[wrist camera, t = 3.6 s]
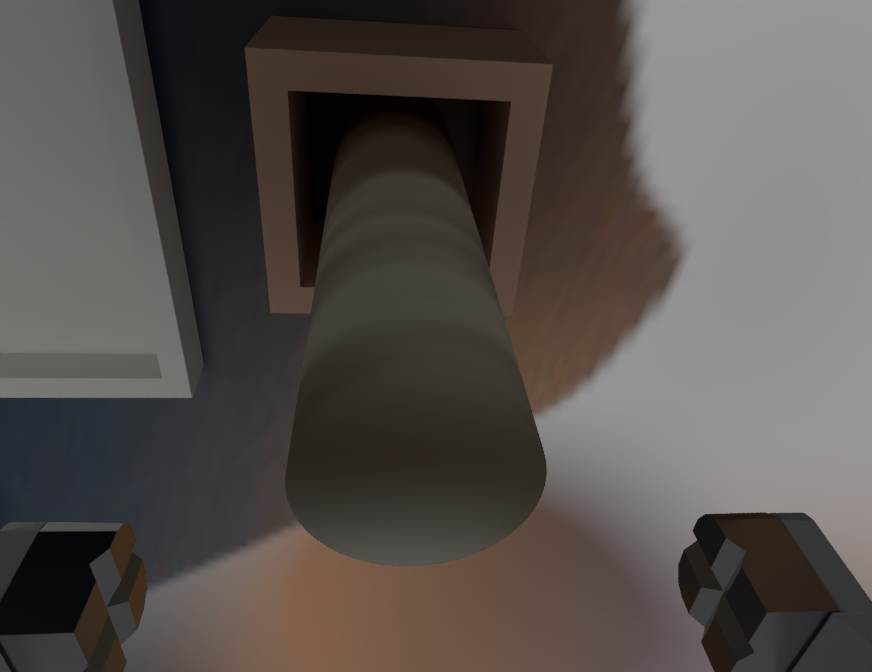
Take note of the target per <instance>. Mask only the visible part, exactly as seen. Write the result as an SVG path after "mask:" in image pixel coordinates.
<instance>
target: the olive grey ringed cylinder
mask: <svg viewBox="0 0 872 672" xmlns="http://www.w3.org/2000/svg"><path fill="white" fill-rule="evenodd" d="M546 473H547V472H546V459H545V455H544V451H543V447H542V444H541V441H540V437H539V434H538V431H537V427H536V424H535V421H534V417H533V414H532V410H531V407H530V404H529V400H528V397H527V394H526V390H525V387H524V384H523V380H522V377H521V374H520V370H519V367H518V364H517V360H516V357H515V354H514V350H513V347H512V343H511V340H510V337H509V333H508V330H507V327H506V323H505V320H504V317H503V313H502V310H501V307H500V303H499V300H498V297H497V293H496V290H495V287H494V283H493V280H492V276H491V273H490V270H489V266H488V263H487V260H486V256H485V253H484V250H483V246H482V243H481V240H480V236H479V233H478V230H477V226H476V223H475V220H474V216H473V213H472V210H471V206H470V203H469V199H468V196H467V193H466V189H465V186H464V183H463V179H462V176H461V173H460V169H459V166H458V163H457V159H456V156H455V153H454V149H453V146H452V143H451V139H450V136H449V132H448V129H447V126H446V123H445V121H444V119H443V117H442V115H441V113H440V112H439V111H438V109H437V108H436V107H435V106H434V105H433V104H432V103H431V102H430V101H429V100H428V99H426V98H425V97H410V96H390V95H369V94H366V95H364V96H363V97H361V98H360V99H358V100H357V101H356V102H355V103H354V104H353V105H352V106H351V107H350V108H349V110H348V111H347V113H346V114H345V116H344V118H343V120H342V122H341V125H340V129H339V134H338V140H337V147H336V153H335V159H334V166H333V172H332V179H331V185H330V192H329V198H328V205H327V211H326V218H325V224H324V230H323V237H322V243H321V250H320V256H319V263H318V269H317V276H316V282H315V288H314V295H313V301H312V308H311V314H310V321H309V327H308V334H307V340H306V347H305V353H304V359H303V366H302V372H301V379H300V385H299V392H298V398H297V405H296V411H295V418H294V424H293V430H292V437H291V443H290V450H289V456H288V463H287V469H286V476H285V489H286V494H287V499H288V502H289V505H290V507H291V510H292V512H293V513H294V515H295V517H296V518H297V520H298V521H299V523H300V524H301V525H302V526H303V527H304V528H305V529H306V531H307V532H309V533H310V534H311V535H312V536H313V537H314V538H316V539H317V540H318V541H320V542H321V543H323V544H324V545H326V546H327V547H329V548H331V549H333V550H335V551H337V552H339V553H341V554H344V555H346V556H349V557H352V558H355V559H358V560H362V561H366V562H370V563H376V564H381V565H391V566H423V565H432V564H439V563H445V562H449V561H453V560H458V559H460V558H464V557H467V556H470V555H473V554H475V553H477V552H480V551H482V550H485V549H486V548H488V547H490V546H492V545H494V544H496V543H498V542H499V541H501V540H502V539H504V538H505V537H506V536H508V535H509V534H511V533H512V532H513V531H514V530H516V529H517V528H518V527H519V526H520V525H521V524H522V523H523V522H524V521H525V520H526V519H527V518H528V517H529V515H530V514H531V512H532V511H533V510H534V508H535V507H536V505H537V503H538V501H539V499H540V497H541V495H542V492H543V489H544V486H545V481H546Z"/></svg>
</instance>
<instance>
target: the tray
mask: <svg viewBox="0 0 872 672" xmlns="http://www.w3.org/2000/svg"><path fill="white" fill-rule="evenodd" d="M203 366H204V362H203V357H202V351H201V345H200V340H199V334H198V329H197V323H196V318H195V312H194V306H193V301H192V295H191V290H190V284H189V279H188V273H187V267H186V262H185V256H184V251H183V245H182V239H181V234H180V228H179V223H178V217H177V212H176V206H175V200H174V195H173V189H172V184H171V178H170V173H169V167H168V161H167V156H166V150H165V145H164V139H163V133H162V128H161V122H160V117H159V111H158V106H157V100H156V94H155V89H154V83H153V78H152V72H151V67H150V61H149V55H148V50H147V44H146V39H145V33H144V27H143V22H142V16H141V11H140V5H139V0H0V398H192V397H193V394H194V391H195V388H196V386H197V383H198V380H199V377H200V374H201V372H202V369H203Z"/></svg>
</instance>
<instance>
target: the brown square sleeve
mask: <svg viewBox="0 0 872 672" xmlns="http://www.w3.org/2000/svg"><path fill="white" fill-rule="evenodd" d="M245 57H246V67H247V77H248V87H249V98H250V108H251V118H252V128H253V138H254V149H255V159H256V169H257V179H258V190H259V200H260V210H261V220H262V230H263V241H264V251H265V261H266V271H267V281H268V292H269V302H270V312H271V313H299V314H311V308H312V301H313V295H314V288H315V282H316V276H317V269H318V263H319V256H320V250H321V243H322V237H323V230H324V224H325V221H323V220H313V209H312V188H311V167H310V146H309V125H308V104H307V92H328V93H348V94H369V95H390V96H410V97H431V98H452V99H472V100H482V101H481V110H480V120H479V130H478V139H477V149H476V159H475V168H474V178H473V187H472V197H471V210H472V213H473V216H474V220H475V223H476V226H477V230H478V233H479V236H480V240H481V243H482V246H483V250H484V253H485V256H486V260H487V263H488V266H489V270H490V273H491V276H492V280H493V283H494V287H495V290H496V293H497V297H498V300H499V303H500V307H501V310H502V313H503V316H513V311H514V305H515V299H516V293H517V287H518V280H519V274H520V268H521V262H522V256H523V249H524V243H525V237H526V231H527V225H528V218H529V212H530V206H531V200H532V194H533V188H534V181H535V175H536V169H537V163H538V157H539V150H540V144H541V138H542V132H543V126H544V119H545V113H546V107H547V101H548V95H549V88H550V82H551V76H552V70H553V64H552V63H551V62H550V61H549V60H548V59H547V58H546V57H545V56H544V55H543V54H542V53H541V52H540V51H539V50H538V49H537V48H536V47H535V46H534V45H533V44H532V43H531V42H530V41H529V40H528V39H527V38H526V37H525V36H524V35H523V34H522V33H521V32H520V31H519V30H503V29H486V28H470V27H453V26H436V25H420V24H403V23H387V22H370V21H353V20H337V19H320V18H303V17H287V16H271V17H270V18H269V19H268V20H267V21H266V23H265V24H264V25H263V26H262V27H261V28H260V30H259V31H258V32H257V33H256V34H255V36H254V37H253V38H252V39H251V40H250V42H249V43H248V44H247V45H246V46H245Z"/></svg>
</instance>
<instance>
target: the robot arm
mask: <svg viewBox="0 0 872 672" xmlns="http://www.w3.org/2000/svg"><path fill="white" fill-rule="evenodd" d="M693 532H694V534H695V536H696V538H697V541H696V542H695V543H693V544H692V545H690V546H689V547H688V548H686V549H685V550H684V551H683V554H682V557H681V559H680V562H679V565H678V566H679V567H678V570H679V572H678V576H679V577H678V583H679V587H680V591H681V595H682V599H683V601H684V603H685V606H686V608H687V610H688V613H689V614H690V615H691V616H692V617H694V618H695V619H696V620H697V621H698V622H699V623H700V624H702V625H703V626H704V627H705V630H704V634H703V638H702V645H703V647H704V649H705V652H706V654H707V656H708V658H709V661H710V663H711V665H712V667H713V669H714V672H872V601H871V600H870V599H869V597H868V596H867V594H866V593H865V592H864V590H863V589H862V587H861V586H860V585H859V583H858V582H857V580H856V579H855V578H854V576H853V575H852V573H851V572H850V571H849V569H848V568H847V566H846V565H845V564H844V562H843V561H842V559H841V558H840V557H839V555H838V554H837V552H836V551H835V550H834V548H833V547H832V545H831V544H830V543H829V541H828V540H827V538H826V537H825V536H824V534H823V533H822V531H821V530H820V528H819V527H818V526H817V524H816V523H815V521H814V520H813V519H811V518H810V517H809V516H807V515H806V514H805V513H769V514H768V513H730V514H705V515H703V516H702V517H700V518H699V519H698V520H697V522H696V524H695V527H694V529H693ZM136 540H137V539H136V536H135V533H134V530H133V528H132V525H131V524H130V523H73V522H9V523H8V524H6V525H5V526H4V527H3V528H2V529H0V672H123V671H124V668H125V665H126V659H125V656H124V653H123V651H122V648H121V644H122V643H124V642H125V641H126V640H127V639H128V638H129V637H130V636H131V635H132V634H133V633H134V632H135V631H136V630H137V629H138V626H139V623H140V620H141V616H142V613H143V610H144V605H145V598H146V591H147V577H146V569H145V566H144V562H143V560H142V559H141V558H139V557H138V556H136V555H135V554H133V553H132V551H133V548H134V545H135V543H136Z"/></svg>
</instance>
